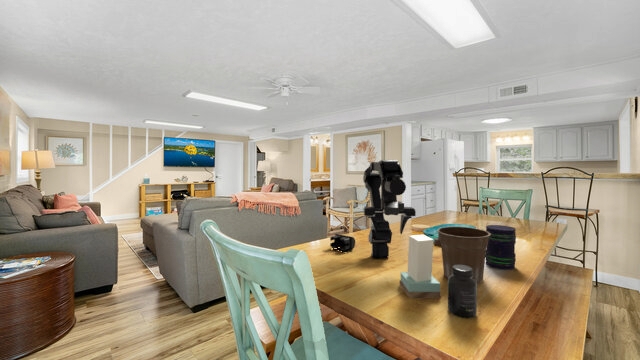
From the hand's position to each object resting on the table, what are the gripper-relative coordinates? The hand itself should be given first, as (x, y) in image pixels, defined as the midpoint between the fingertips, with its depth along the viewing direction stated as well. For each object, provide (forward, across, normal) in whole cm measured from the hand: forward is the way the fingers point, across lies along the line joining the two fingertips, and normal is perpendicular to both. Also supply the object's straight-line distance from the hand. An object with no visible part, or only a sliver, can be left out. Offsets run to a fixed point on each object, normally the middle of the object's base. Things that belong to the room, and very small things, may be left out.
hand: (388, 233), depth 107 cm
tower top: (+11, +6, -21) cm, 24 cm away
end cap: (+13, -18, +23) cm, 32 cm away
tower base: (+14, +6, -21) cm, 26 cm away
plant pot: (+13, +24, -8) cm, 29 cm away
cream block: (+8, +6, -21) cm, 24 cm away
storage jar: (+13, +43, +5) cm, 45 cm away
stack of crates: (+14, +31, +33) cm, 48 cm away
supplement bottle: (+13, +14, -33) cm, 38 cm away
